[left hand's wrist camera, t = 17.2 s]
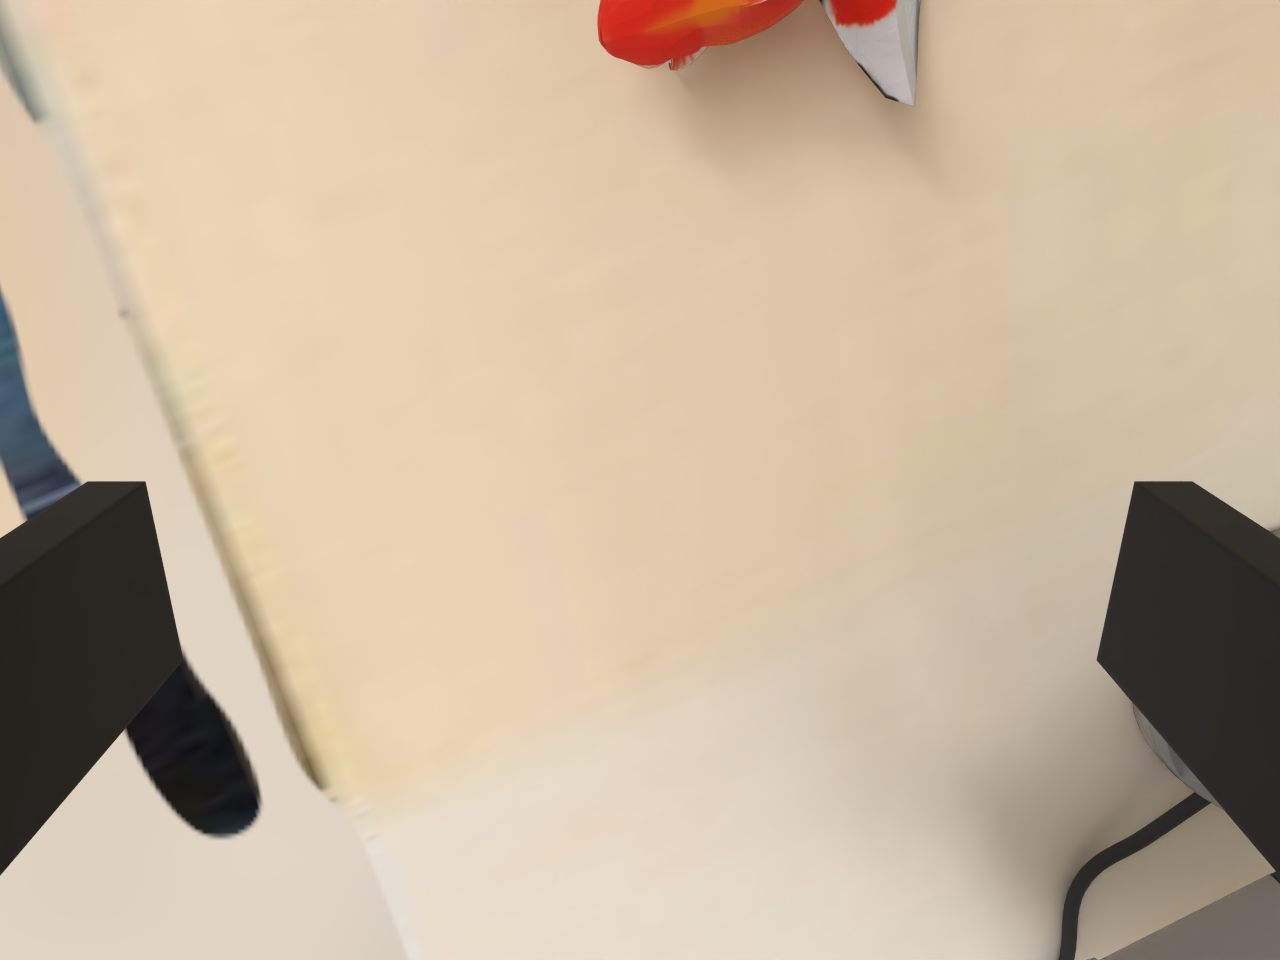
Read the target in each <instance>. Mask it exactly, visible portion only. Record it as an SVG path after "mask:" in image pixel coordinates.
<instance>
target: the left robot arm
mask: <svg viewBox="0 0 1280 960" xmlns="http://www.w3.org/2000/svg"><path fill="white" fill-rule="evenodd" d="M182 661H183V656H182V652H181V647H180V642H179V637H178V633H177V628H176V623H175V619H174V614H173V609H172V605H171V600H170V595H169V590H168V586H167V581H166V576H165V572H164V567H163V562H162V557H161V553H160V548H159V543H158V539H157V534H156V529H155V524H154V520H153V515H152V510H151V506H150V501H149V496H148V491H147V487H146V482H86V483H85V484H83V485H82V486H80V487H78V488H77V489H75V490H74V491H72V492H71V493H69V494H68V495H66V496H65V497H63V498H62V499H60V500H58V501H57V502H55V503H54V504H52V505H51V506H49V507H48V508H46V509H45V510H43V511H42V512H40V513H38V514H37V515H35V516H34V517H32V518H31V519H29V520H28V521H26V522H25V523H23V524H21V525H20V526H18V527H17V528H15V529H14V530H12V531H11V532H9V533H8V534H6V535H5V536H3V537H1V538H0V875H1V874H2V873H3V872H4V870H5V869H6V868H7V867H8V866H9V865H10V863H11V862H12V861H13V860H14V859H15V857H16V856H17V855H18V854H19V853H20V851H21V850H22V849H23V848H24V847H25V846H26V845H27V843H28V842H29V841H30V840H31V839H32V837H33V836H34V835H35V834H36V833H37V832H38V830H39V829H40V828H41V827H42V826H43V825H44V823H45V822H46V821H47V820H48V819H49V817H50V816H51V815H52V814H53V813H54V812H55V810H56V809H57V808H58V807H59V806H60V805H61V803H62V802H63V801H64V800H65V799H66V797H67V796H68V795H69V794H70V793H71V792H72V790H73V789H74V788H75V787H76V786H77V785H78V783H79V782H80V781H81V780H82V779H83V777H84V776H85V775H86V774H87V773H88V772H89V770H90V769H91V768H92V767H93V766H94V765H95V763H96V762H97V761H98V760H99V759H100V757H101V756H102V755H103V754H104V753H105V752H106V750H107V749H108V748H109V747H110V746H111V745H112V743H113V742H114V741H115V740H116V739H117V737H118V736H119V735H120V734H121V733H122V732H123V730H124V729H125V728H126V727H127V726H128V725H129V723H130V722H131V721H132V720H133V719H134V717H135V716H136V715H137V714H138V713H139V712H140V710H141V709H142V708H143V707H144V706H145V705H146V703H147V702H148V701H149V700H150V699H151V697H152V696H153V695H154V694H155V693H156V692H157V690H158V689H159V688H160V687H161V686H162V685H163V683H164V682H165V681H166V680H167V679H168V677H169V676H170V675H171V674H172V673H173V672H174V670H175V669H176V668H177V667H178V666H179V665H180V663H181V662H182ZM1097 661H1098V662H1099V663H1100V665H1101V666H1102V667H1103V668H1104V669H1105V670H1106V672H1107V673H1108V674H1109V675H1110V676H1111V677H1112V679H1113V680H1114V681H1115V682H1116V683H1117V685H1118V686H1119V687H1120V688H1121V689H1122V690H1123V692H1124V693H1125V694H1126V695H1127V696H1128V697H1129V699H1130V700H1131V701H1132V702H1133V707H1134V713H1135V716H1136V719H1137V723H1138V725H1139V728H1140V730H1141V732H1142V734H1143V736H1144V738H1145V739H1146V741H1147V742H1148V744H1149V745H1150V747H1151V748H1152V749H1153V750H1154V751H1155V753H1156V754H1157V755H1158V756H1159V758H1160V759H1161V760H1162V761H1163V762H1164V764H1165V765H1166V766H1167V767H1168V769H1169V770H1170V771H1171V772H1172V773H1173V774H1174V775H1175V776H1176V777H1177V778H1179V779H1180V780H1181V781H1182V782H1184V783H1185V784H1186V785H1187V786H1188V787H1189V788H1190V789H1192V790H1193V791H1194V792H1195V793H1193V794H1192V795H1190V796H1189V797H1187V798H1186V799H1184V800H1183V801H1182V802H1180V803H1179V804H1177V805H1176V806H1174V807H1173V808H1172V809H1170V810H1169V811H1167V812H1166V813H1164V814H1163V815H1161V816H1160V817H1159V818H1157V819H1156V820H1154V821H1153V822H1151V823H1150V824H1148V825H1147V826H1145V827H1144V828H1142V829H1141V830H1139V831H1138V832H1136V833H1135V834H1133V835H1131V836H1130V837H1128V838H1126V839H1124V840H1122V841H1120V842H1118V843H1117V844H1115V845H1113V846H1111V847H1109V848H1107V849H1105V850H1104V851H1102V852H1100V853H1099V854H1097V855H1096V856H1095V857H1093V858H1092V859H1091V860H1089V861H1088V862H1087V863H1086V864H1085V865H1084V866H1083V868H1082V869H1081V870H1080V871H1079V873H1078V874H1077V876H1076V877H1075V879H1074V880H1073V882H1072V884H1071V887H1070V889H1069V891H1068V894H1067V897H1066V901H1065V905H1064V912H1063V924H1062V942H1061V951H1060V957H1059V960H1074V958H1075V952H1076V941H1077V924H1078V914H1079V908H1080V904H1081V900H1082V898H1083V896H1084V893H1085V891H1086V890H1087V888H1088V887H1089V885H1090V884H1091V882H1092V881H1093V880H1094V879H1095V878H1096V877H1097V876H1098V875H1099V874H1100V873H1101V872H1102V871H1104V870H1105V869H1106V868H1108V867H1109V866H1111V865H1113V864H1114V863H1116V862H1118V861H1120V860H1122V859H1124V858H1126V857H1128V856H1130V855H1132V854H1134V853H1135V852H1137V851H1139V850H1141V849H1143V848H1144V847H1146V846H1148V845H1149V844H1151V843H1152V842H1154V841H1155V840H1157V839H1158V838H1160V837H1161V836H1163V835H1164V834H1166V833H1167V832H1169V831H1170V830H1172V829H1173V828H1175V827H1176V826H1178V825H1179V824H1181V823H1182V822H1184V821H1185V820H1187V819H1188V818H1189V817H1191V816H1192V815H1194V814H1195V813H1197V812H1198V811H1200V810H1201V809H1203V808H1204V807H1206V806H1207V805H1209V804H1210V803H1213V804H1215V805H1216V806H1218V807H1220V808H1221V809H1223V810H1225V812H1226V813H1227V814H1228V815H1229V816H1230V817H1231V819H1232V820H1233V821H1234V822H1235V823H1236V825H1237V826H1238V827H1239V828H1240V829H1241V830H1242V832H1243V833H1244V834H1245V835H1246V836H1247V837H1248V839H1249V840H1250V841H1251V842H1252V843H1253V845H1254V846H1255V847H1256V848H1257V849H1258V850H1259V852H1260V853H1261V854H1262V855H1263V856H1264V857H1265V859H1266V860H1267V861H1268V862H1269V863H1270V865H1271V866H1272V867H1273V868H1274V869H1275V870H1276V872H1274V873H1272V874H1270V875H1267V876H1265V877H1263V878H1261V879H1259V880H1257V881H1255V882H1253V883H1251V884H1249V885H1247V886H1245V887H1243V888H1241V889H1239V890H1237V891H1235V892H1233V893H1231V894H1229V895H1227V896H1225V897H1223V898H1222V899H1220V900H1218V901H1216V902H1214V903H1212V904H1210V905H1208V906H1206V907H1204V908H1202V909H1200V910H1198V911H1196V912H1194V913H1192V914H1190V915H1188V916H1186V917H1184V918H1182V919H1180V920H1178V921H1176V922H1174V923H1172V924H1170V925H1168V926H1166V927H1164V928H1162V929H1160V930H1158V931H1156V932H1154V933H1152V934H1150V935H1148V936H1146V937H1144V938H1142V939H1140V940H1138V941H1136V942H1134V943H1133V944H1131V945H1129V946H1127V947H1125V948H1123V949H1121V950H1119V951H1117V952H1115V953H1113V954H1111V955H1109V956H1107V957H1105V958H1103V959H1101V960H1280V530H1277V531H1274V532H1269V531H1268V530H1266V529H1265V528H1263V527H1262V526H1260V525H1259V524H1257V523H1255V522H1254V521H1252V520H1251V519H1249V518H1248V517H1246V516H1245V515H1243V514H1242V513H1240V512H1238V511H1237V510H1235V509H1234V508H1232V507H1231V506H1229V505H1228V504H1226V503H1225V502H1223V501H1222V500H1220V499H1218V498H1217V497H1215V496H1214V495H1212V494H1211V493H1209V492H1208V491H1206V490H1205V489H1203V488H1202V487H1200V486H1198V485H1197V484H1195V483H1194V482H1134V487H1133V491H1132V496H1131V501H1130V506H1129V510H1128V515H1127V520H1126V524H1125V529H1124V534H1123V539H1122V543H1121V548H1120V553H1119V557H1118V562H1117V567H1116V571H1115V576H1114V581H1113V586H1112V590H1111V595H1110V600H1109V604H1108V609H1107V614H1106V619H1105V623H1104V628H1103V633H1102V637H1101V642H1100V647H1099V652H1098V656H1097ZM1088 960H1097V959H1096V958H1091V959H1088Z"/></svg>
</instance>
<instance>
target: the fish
mask: <svg viewBox="0 0 1280 960" xmlns="http://www.w3.org/2000/svg"><path fill="white" fill-rule="evenodd" d="M802 1H803V0H601V1H600V6H599V12H598V34H599V41H600V43H601V45H602V46H603V47H604V48H605V49H606V50H607V52H608V53H610V54H611V55H612V56H614V57H617V58H620V59H623V60H626V61H629V62H631V63H634V64H636V65H639V66H641V67H644V68H656V67H659V66H660V65H662V64H663V63H665V62H666V61H668V60H670V59H671V64H670V63H669V67H670V70H677V71H679V70H680V69H682V68H684V67H686V66H687V65H689V64H691V63H693V62H694V61H695V60H696V59H697V58H698V57H699V56H700V55H701V53H702V52H703V51H704V50H705V49H706V48H707V46H716V45H725V44H730V43H734V42H737V41H740V40H743V39H745V38H748V37H750V36H752V35H755V34H757V33H759V32H761V31H763V30H765V29H767V28H769V27H771V26H772V25H774V24H776V23H777V22H778V21H780V20H781V19H783V18H784V17H785V16H787V15H788V14H789V13H791V12H792V11H793V10H794V9H795V8H797V7H798V6H799V5H800V4H801V3H802ZM820 2H821V4H822V6H823V8H824V10H825V11H826V13H827V15H828V17H829V19H830V21H831V22H832V24H833V26H834V28H835V30H836V31H837V33H838V35H839V37H840V38H841V40H842V42H843V44H844V45H845V47H846V48H847V49H848V51H849V52H850V54H851V55H852V56H853V58H854V59H855V61H856V62H857V63H858V65H859V66H860V67H861V68H862V70H863V71H864V72H865V73H866V75H867V76H868V77H869V78H870V79H871V81H872V82H873V83H874V84H875V85H876V87H877V88H878V89H879V90H880V92H881V93H882V94H883V95H884V96H885V98H888V99H891V100H895V101H898V102H901V103H905V104H908V105H912V106H915V92H916V77H917V52H918V25H919V11H920V2H921V0H820Z"/></svg>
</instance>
